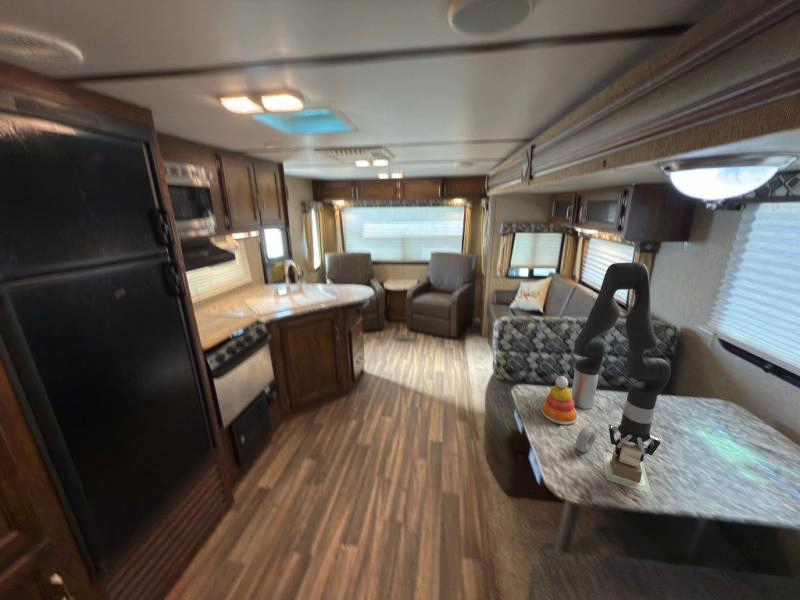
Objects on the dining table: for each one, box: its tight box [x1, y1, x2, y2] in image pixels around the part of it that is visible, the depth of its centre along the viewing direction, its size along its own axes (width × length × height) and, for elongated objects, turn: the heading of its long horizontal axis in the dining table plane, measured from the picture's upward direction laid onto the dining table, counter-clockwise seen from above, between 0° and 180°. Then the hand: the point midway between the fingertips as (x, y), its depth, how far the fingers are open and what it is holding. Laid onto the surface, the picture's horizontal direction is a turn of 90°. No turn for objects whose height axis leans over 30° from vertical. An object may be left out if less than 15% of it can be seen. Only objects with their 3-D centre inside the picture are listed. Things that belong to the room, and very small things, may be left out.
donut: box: [575, 426, 597, 453], centre depth 112 cm, size 10×4×10 cm, turn 123°
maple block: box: [619, 442, 642, 467], centre depth 101 cm, size 5×5×6 cm
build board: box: [602, 450, 653, 495], centre depth 103 cm, size 14×12×1 cm
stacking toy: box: [540, 375, 579, 425], centre depth 130 cm, size 14×14×20 cm
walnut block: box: [612, 450, 642, 482], centre depth 103 cm, size 7×7×4 cm
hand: (627, 457), depth 102 cm, fingers closed on maple block, 5 cm apart
